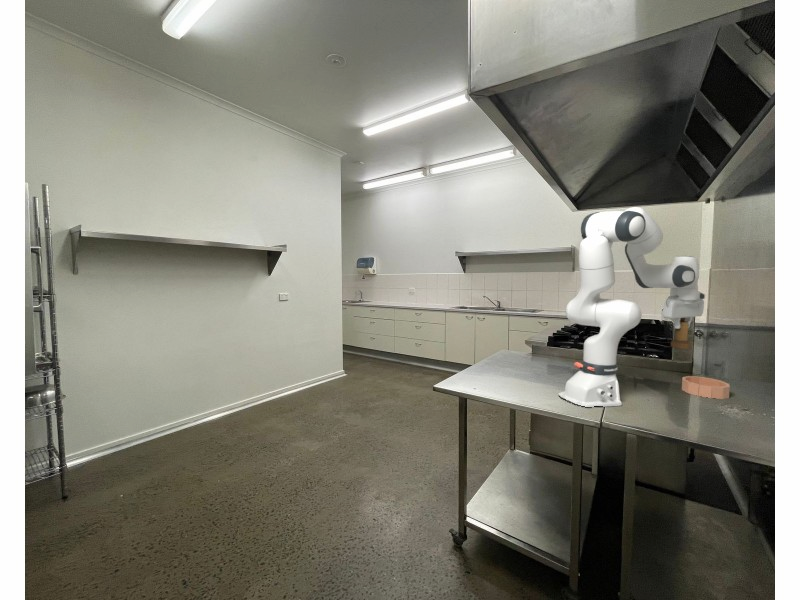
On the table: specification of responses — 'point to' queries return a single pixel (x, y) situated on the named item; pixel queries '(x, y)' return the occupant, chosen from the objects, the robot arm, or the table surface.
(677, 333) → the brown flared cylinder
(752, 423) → the table surface
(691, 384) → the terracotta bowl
